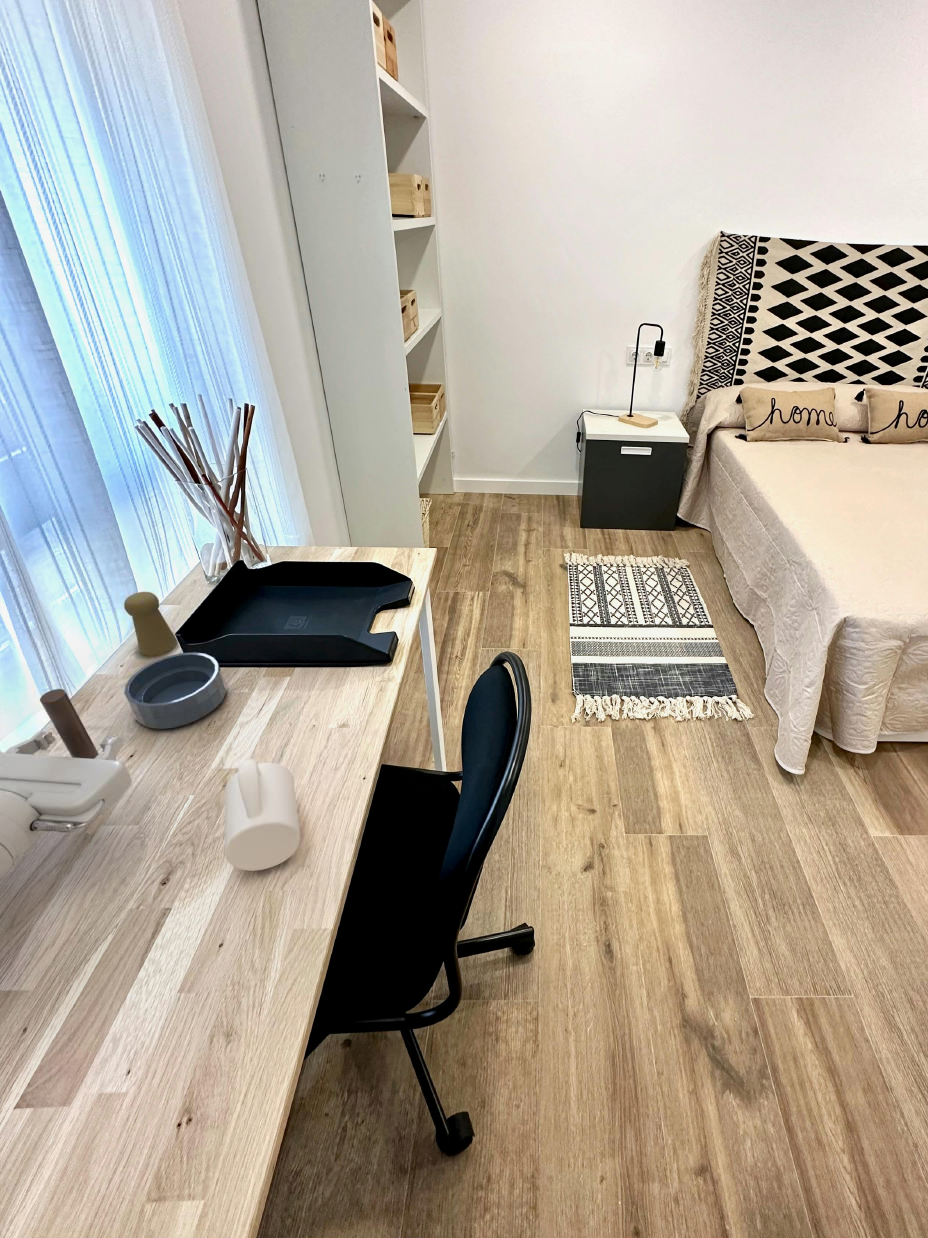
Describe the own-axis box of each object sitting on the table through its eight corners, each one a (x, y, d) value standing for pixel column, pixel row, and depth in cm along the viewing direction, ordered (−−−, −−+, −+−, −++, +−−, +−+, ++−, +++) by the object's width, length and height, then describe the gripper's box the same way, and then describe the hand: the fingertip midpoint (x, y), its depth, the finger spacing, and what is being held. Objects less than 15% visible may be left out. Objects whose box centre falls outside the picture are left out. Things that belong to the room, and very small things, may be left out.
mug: (234, 880, 74) (207, 816, 68) (234, 815, 82) (209, 752, 76) (306, 856, 77) (286, 793, 71) (299, 796, 85) (280, 733, 79)
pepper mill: (172, 632, 117) (154, 583, 111) (180, 647, 113) (161, 597, 107) (136, 644, 114) (115, 594, 108) (143, 660, 110) (121, 609, 104)
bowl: (121, 735, 94) (108, 709, 91) (156, 680, 105) (145, 655, 102) (212, 728, 96) (203, 702, 93) (237, 674, 107) (228, 649, 104)
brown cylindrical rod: (91, 801, 84) (35, 703, 74) (100, 786, 86) (46, 689, 76) (112, 799, 84) (58, 701, 74) (120, 785, 86) (69, 687, 77)
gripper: (71, 814, 67) (150, 724, 78) (-107, 801, 67) (-2, 714, 79) (93, 850, 70) (166, 759, 82) (-77, 837, 71) (19, 749, 83)
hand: (82, 737), depth 80 cm, fingers open, 8 cm apart
